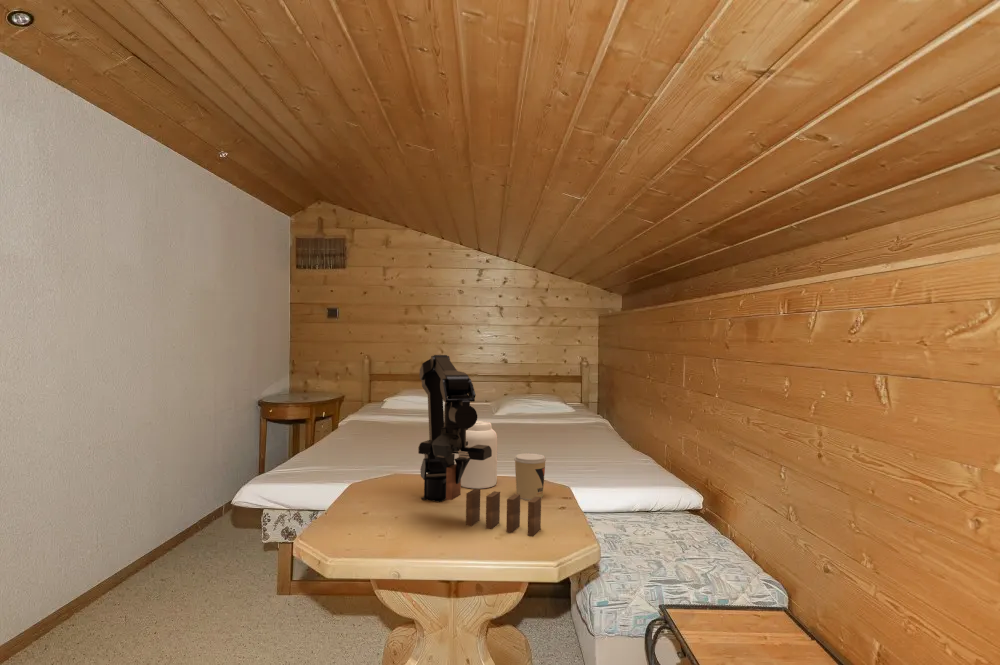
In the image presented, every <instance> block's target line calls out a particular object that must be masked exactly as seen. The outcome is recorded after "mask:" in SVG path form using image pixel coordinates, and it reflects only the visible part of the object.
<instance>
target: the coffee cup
mask: <svg viewBox="0 0 1000 665" xmlns="http://www.w3.org/2000/svg"><path fill="white" fill-rule="evenodd" d="M546 461H547V459H546V457H545V455H543V454H540V453H531V452H530V453H528V452H527V453H525V452H524V453H519V454H516V455H515V456H514V462H515V463H514V466H515V468H514V469H515V470H514V471H515V486H516V487H515V489H516V494H520V500H525V501H530V500H531V499H532V498H534V497H541V499H543V495H544V485H545V483H544V482H545V469H546Z"/></svg>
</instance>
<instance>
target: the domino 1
mask: <svg viewBox="0 0 1000 665" xmlns="http://www.w3.org/2000/svg"><path fill="white" fill-rule="evenodd" d="M461 488H462V486H461V480H460V482H459V483H458V484H456V463H455V464H454V465H452V466H450V467H447V471H446V499H445V500H449V501H452V500H453V501H454V499H456V498H458V497H460V496H461Z"/></svg>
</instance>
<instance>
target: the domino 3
mask: <svg viewBox="0 0 1000 665" xmlns="http://www.w3.org/2000/svg"><path fill="white" fill-rule="evenodd" d="M485 497H486V498H485V530H493V529H495V528H496V527H497V526H499V525H500V520H501V519H500V517H501V516H500V513H501V512H500V510H501V502H500V501H501V491H495V490H494V491H492V492H491V493H489V494H487V495H486V496H485Z"/></svg>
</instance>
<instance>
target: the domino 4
mask: <svg viewBox="0 0 1000 665" xmlns="http://www.w3.org/2000/svg"><path fill="white" fill-rule="evenodd" d="M520 523H521V499H520V494H517V493H513V494H512V495H510V496H509V497H508V498H507V499H506V530H505V531H506V533H512V534H513V533H514V532H515V531H517V529H519V528H520V526H521V525H520Z"/></svg>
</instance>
